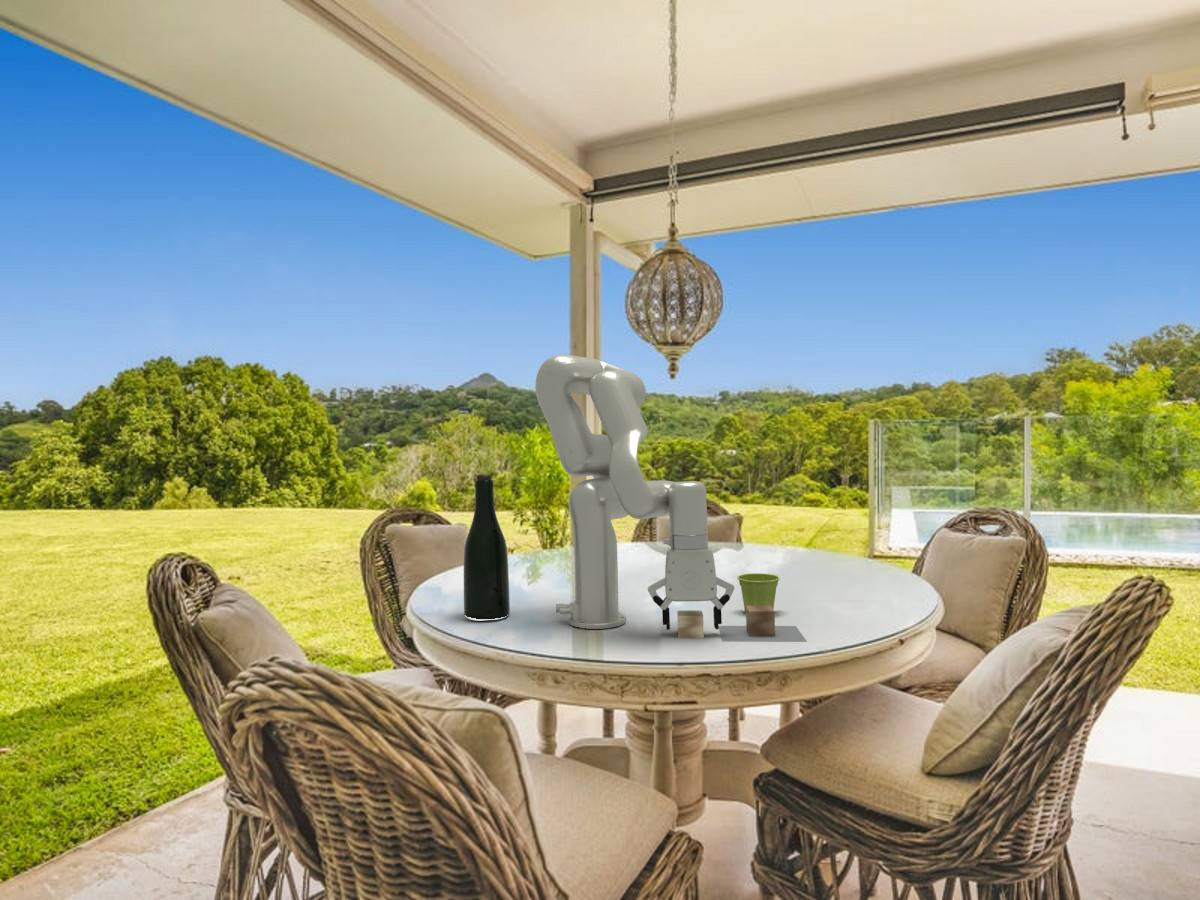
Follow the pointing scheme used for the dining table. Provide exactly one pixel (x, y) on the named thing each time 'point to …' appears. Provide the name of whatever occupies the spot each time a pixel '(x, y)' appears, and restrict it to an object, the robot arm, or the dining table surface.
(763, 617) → the walnut block
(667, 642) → the dining table surface
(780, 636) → the mat
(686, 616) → the maple block
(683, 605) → the dining table surface
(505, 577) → the dark wine bottle
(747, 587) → the plant pot
